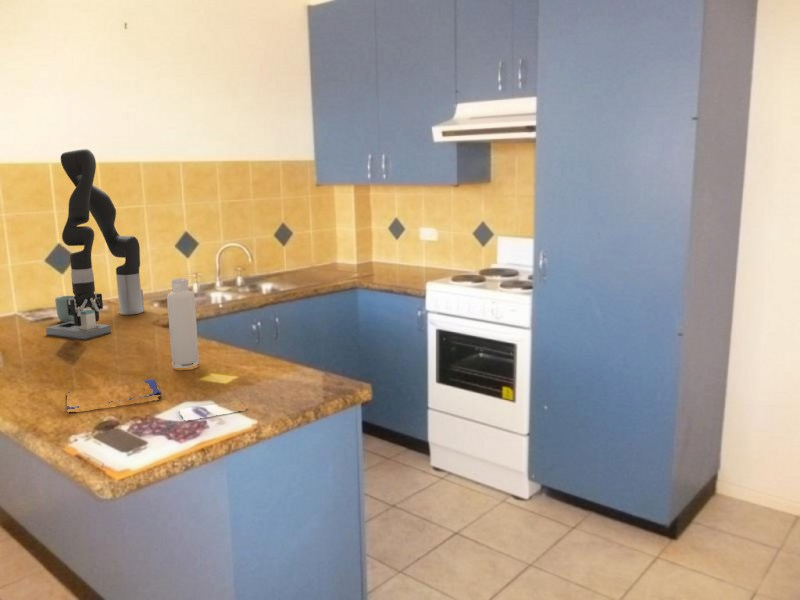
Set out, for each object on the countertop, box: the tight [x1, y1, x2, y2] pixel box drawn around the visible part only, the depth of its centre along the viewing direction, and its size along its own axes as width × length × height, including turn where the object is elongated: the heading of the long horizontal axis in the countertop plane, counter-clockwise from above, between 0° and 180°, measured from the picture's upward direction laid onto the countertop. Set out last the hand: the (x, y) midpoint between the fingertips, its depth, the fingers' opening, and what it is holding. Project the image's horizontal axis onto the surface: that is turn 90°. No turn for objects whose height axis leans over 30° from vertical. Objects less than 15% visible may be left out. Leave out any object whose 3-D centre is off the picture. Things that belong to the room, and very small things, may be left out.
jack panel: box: [45, 321, 112, 341], centre depth 254 cm, size 12×20×3 cm, turn 66°
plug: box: [80, 308, 97, 330], centre depth 251 cm, size 4×4×9 cm
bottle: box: [166, 277, 200, 368], centre depth 209 cm, size 8×8×28 cm
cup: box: [54, 295, 74, 323], centre depth 275 cm, size 8×8×10 cm
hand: (87, 323), depth 251 cm, fingers open, 7 cm apart
